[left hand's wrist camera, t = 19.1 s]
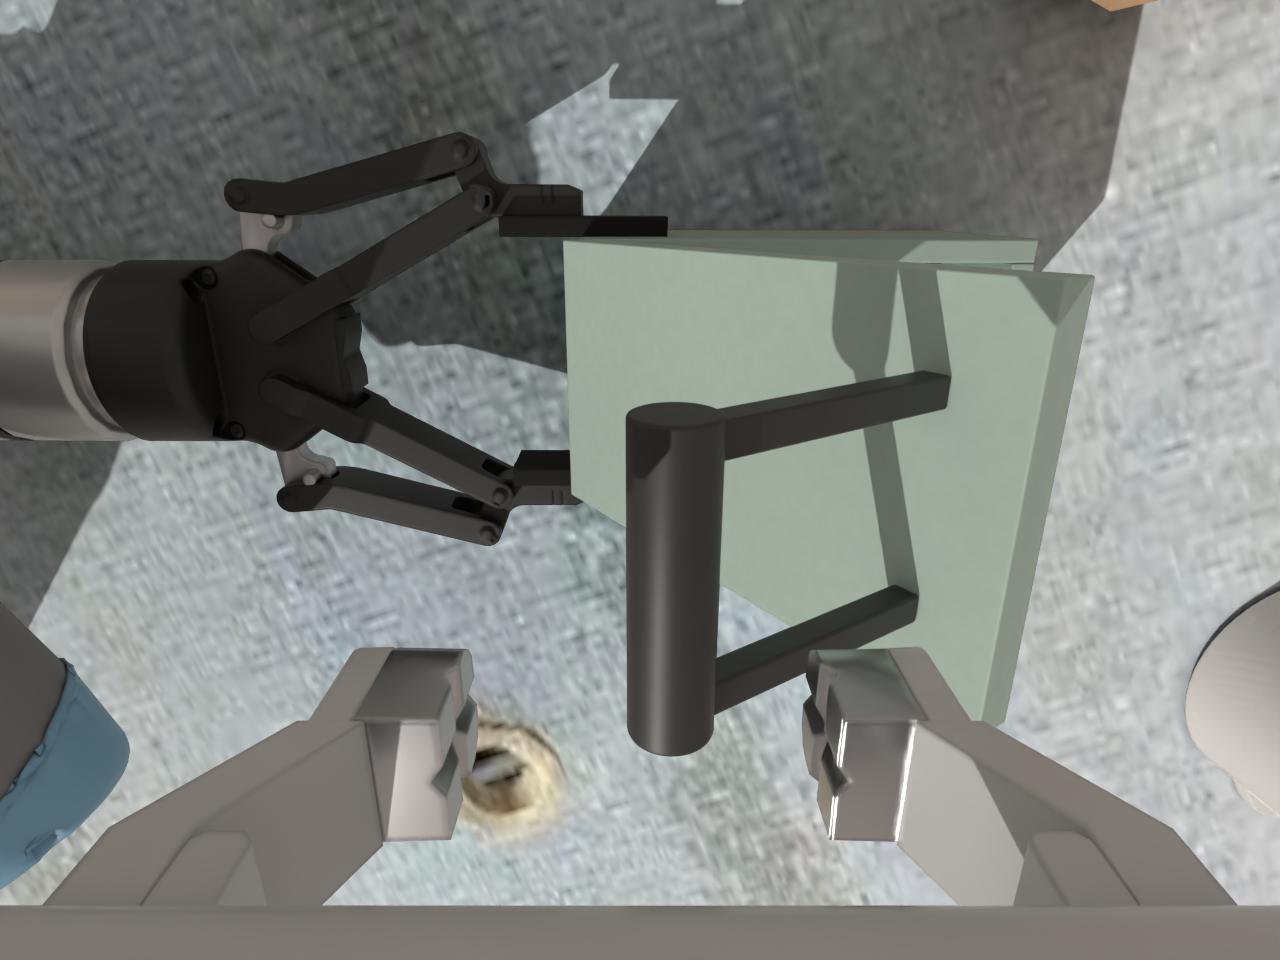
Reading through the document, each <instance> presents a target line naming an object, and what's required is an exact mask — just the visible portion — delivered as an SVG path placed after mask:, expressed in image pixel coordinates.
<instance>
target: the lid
mask: <svg viewBox="0 0 1280 960" xmlns="http://www.w3.org/2000/svg"><path fill="white" fill-rule="evenodd" d="M563 252H564V282H565V313H566V343H567V374H568V404H569V435H570V465H571V493H572V495H574V496H575V497H577V498H579V499H580V500H582V501H584V502H585V503H587V504H589V505H590V506H592V507H593V508H595V509H597V510H598V511H600V512H602V513H603V514H605V515H607V516H608V517H610V518H612V519H613V520H615V521H617V522H618V523H620V524H622V525H623V526H625V527H626V593H627V728H628V732H629V735H630V736H631V738H632V740H633V741H634V742H635V743H636V744H637V745H638V746H639V747H641V748H642V749H644V750H646V751H648V752H650V753H653V754H657V755H661V756H683V755H687V754H691V753H693V752H696V751H698V750H699V749H701V748H702V747H704V746H705V745H706V744H707V743H708V741H709V740H710V738H711V736H712V734H713V729H714V715H716V714H718V713H720V712H722V711H724V710H726V709H729V708H731V707H733V706H735V705H737V704H739V703H741V702H744V701H746V700H748V699H750V698H752V697H754V696H756V695H759V694H761V693H763V692H765V691H767V690H769V689H771V688H774V687H776V686H778V685H780V684H782V683H784V682H787V681H789V680H791V679H793V678H795V677H797V676H799V675H802V674H804V673H806V670H807V660H808V657H809V653H810V650H842V649H883V648H902V647H920V648H922V649H924V650H926V652H927V653H928V655H929V656H930V658H931V659H932V661H933V663H934V664H935V666H936V667H937V669H938V670H939V672H940V673H941V675H942V676H943V678H944V679H945V681H946V683H947V684H948V686H949V687H950V689H951V690H952V692H953V693H954V695H955V696H956V698H957V699H958V701H959V702H960V704H961V706H962V707H963V709H964V710H965V712H966V713H967V715H968V716H969V718H970V719H971V721H984V722H986V723H987V724H989V725H991V726H993V727H995V728H996V727H997V726H999V725H1001V724H1002V723H1004V722H1005V718H1006V713H1007V708H1008V703H1009V698H1010V693H1011V688H1012V683H1013V678H1014V673H1015V669H1016V664H1017V659H1018V654H1019V649H1020V644H1021V639H1022V634H1023V629H1024V624H1025V619H1026V614H1027V609H1028V605H1029V600H1030V595H1031V590H1032V585H1033V580H1034V575H1035V570H1036V565H1037V560H1038V555H1039V550H1040V545H1041V541H1042V536H1043V531H1044V526H1045V521H1046V516H1047V511H1048V506H1049V501H1050V496H1051V491H1052V486H1053V481H1054V477H1055V472H1056V467H1057V462H1058V457H1059V452H1060V447H1061V442H1062V437H1063V432H1064V427H1065V422H1066V417H1067V413H1068V408H1069V403H1070V398H1071V393H1072V388H1073V383H1074V378H1075V373H1076V368H1077V363H1078V358H1079V353H1080V349H1081V344H1082V339H1083V334H1084V329H1085V324H1086V319H1087V314H1088V309H1089V304H1090V299H1091V294H1092V289H1093V285H1094V280H1095V276H1093V275H1084V274H1070V273H1055V272H1041V271H1027V270H1013V269H999V268H985V267H971V266H957V265H943V264H929V263H914V262H900V261H886V260H872V259H858V258H844V257H830V256H816V255H802V254H787V253H773V252H759V251H745V250H731V249H717V248H703V247H689V246H675V245H661V244H646V243H632V242H618V241H604V240H590V239H584V240H564V241H563ZM720 584H721V585H722V586H724V587H726V588H727V589H729V590H731V591H732V592H734V593H735V594H737V595H739V596H740V597H742V598H744V599H745V600H747V601H749V602H750V603H752V604H754V605H755V606H757V607H759V608H760V609H762V610H764V611H765V612H767V613H769V614H770V615H772V616H773V617H775V618H777V619H778V620H780V621H782V622H783V623H785V624H787V625H788V626H790V628H788V629H785V630H783V631H780V632H778V633H775V634H773V635H771V636H768V637H766V638H763V639H761V640H759V641H756V642H754V643H751V644H749V645H746V646H744V647H742V648H739V649H737V650H734V651H732V652H730V653H727V654H725V655H722V656H720V657H718V658H716V657H717V634H718V610H719V586H720Z"/></svg>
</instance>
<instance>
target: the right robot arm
mask: <svg viewBox="0 0 1280 960" xmlns="http://www.w3.org/2000/svg"><path fill="white" fill-rule="evenodd" d="M453 176H457V178H458V181H459V183H460V185H461V188H462V190H463V192H461V193H460V194H458V195H456V196H455V197H453V198H451V199H450V200H448V201H447V202H445V203H443V204H442V205H440V206H438V207H437V208H435V209H433V210H432V211H430V212H428V213H427V214H425V215H423V216H422V217H420V218H418V219H417V220H415V221H414V222H412V223H410V224H409V225H407V226H405V227H404V228H402V229H400V230H399V231H397V232H395V233H394V234H392V235H390V236H389V237H387V238H385V239H384V240H382V241H380V242H379V243H377V244H376V245H374V246H372V247H371V248H369V249H367V250H366V251H364V252H362V253H361V254H359V255H357V256H356V257H354V258H352V259H351V260H349V261H347V262H346V263H344V264H342V265H341V266H339V267H337V268H334V269H332V270H330V271H328V272H326V273H325V274H323V275H321V276H320V277H318V278H317V277H316V276H314V275H313V274H311V273H310V272H308V271H307V270H305V269H304V268H302V267H301V266H299V265H298V264H296V263H295V262H293V261H292V260H290V259H289V258H287V257H286V256H285V255H283V254H282V253H280V252H278V251H277V245H278V242H279V240H280V239H281V238H282V237H284V236H286V235H291V234H295V233H296V232H298V231H299V229H300V227H301V224H302V217H301V215H312V214H322V213H327V212H331V211H335V210H338V209H342V208H345V207H349V206H352V205H355V204H359V203H362V202H366V201H369V200H373V199H376V198H380V197H383V196H387V195H390V194H394V193H397V192H401V191H404V190H407V189H411V188H414V187H418V186H421V185H425V184H428V183H432V182H435V181H439V180H442V179H446V178H449V177H453ZM224 196H225V199H226V201H227V203H228V204H229V206H230V207H232V208H233V209H234V210H236V211H239V216H240V228H241V239H242V250H241V251H239V252H237V253H235V254H234V255H232V256H231V257H229V258H227V259H225V260H128V261H124V262H121V263H119V264H118V263H116V262H113V261H110V260H5V261H0V440H29V441H31V440H61V441H131V440H134V439H137V438H140V439H143V440H148V441H239V440H245V441H251V442H255V443H258V444H260V445H263V446H265V447H267V448H269V449H271V450H274V451H276V452H277V456H278V460H279V463H280V467H281V471H282V475H283V479H284V483H285V486H284V487H283V488H282V489H280V490H279V491H278V493H277V502H278V504H279V506H280V507H281V508H282V509H284V510H286V511H288V512H301V511H313V510H326V509H333V510H337V511H341V512H346V513H350V514H354V515H358V516H362V517H367V518H371V519H375V520H379V521H384V522H388V523H392V524H396V525H400V526H405V527H409V528H413V529H417V530H421V531H426V532H430V533H434V534H438V535H442V536H447V537H451V538H455V539H459V540H463V541H468V542H472V543H476V544H480V545H484V546H491V545H494V544H496V543H497V542H498V541H499V539H500V537H501V534H502V532H503V530H504V527H505V524H506V522H507V519H508V516H509V513H510V511H511V510H512V509H513V508H515V507H517V506H520V505H577V504H580V503H583V502H584V501H582V500H580V499H579V498H577V497H575V496H574V495H572V493H571V465H570V450H521V452H520V455H519V457H518V459H517V461H516V462H515V464H514V467H513V466H511V465H509V464H507V463H505V462H503V461H501V460H499V459H497V458H495V457H493V456H491V455H489V454H487V453H485V452H483V451H481V450H479V449H477V448H475V447H473V446H471V445H469V444H467V443H465V442H463V441H461V440H459V439H457V438H455V437H453V436H451V435H449V434H447V433H445V432H443V431H441V430H439V429H437V428H435V427H433V426H431V425H429V424H427V423H425V422H423V421H421V420H419V419H417V418H415V417H413V416H411V415H409V414H407V413H405V412H403V411H401V410H399V409H397V408H395V407H393V406H392V405H391V404H390V403H389V402H388V400H387V399H385V398H384V397H382V396H380V395H378V394H376V393H374V392H372V391H370V390H368V389H366V388H364V386H365V385H367V384H368V376H367V368H366V364H365V362H364V359H363V357H362V354H361V352H360V340H361V333H362V327H361V319H360V313H355V311H354V309H353V307H352V305H351V303H353V302H355V301H356V300H358V299H360V298H361V297H363V296H365V295H367V294H368V293H370V292H372V291H373V290H375V289H376V288H377V287H378V286H380V285H382V284H383V283H385V282H387V281H388V280H390V279H392V278H393V277H395V276H397V275H399V274H400V273H402V272H404V271H405V270H407V269H409V268H410V267H412V266H414V265H415V264H417V263H419V262H420V261H422V260H424V259H425V258H427V257H429V256H430V255H432V254H434V253H436V252H437V251H439V250H441V249H442V248H444V247H446V246H447V245H449V244H451V243H452V242H454V241H456V240H457V239H459V238H461V237H462V236H464V235H466V234H467V233H469V232H471V231H472V230H474V229H476V228H478V227H479V226H481V225H483V224H484V223H486V222H488V221H489V220H491V219H493V218H494V217H499V231H500V237H667V234H668V217H666V216H583V191H582V190H580V189H577V188H575V187H573V186H570V185H541V184H505V183H503V182H502V181H500V180H499V179H498V178H497V176H496V175H495V173H494V171H493V169H492V166H491V164H490V161H489V159H488V156H487V149H486V147H485V145H484V144H483V143H482V142H481V141H480V140H479V139H476V138H474V137H472V136H470V135H467V134H464V133H462V132H458V133H452V134H449V135H445V136H442V137H438V138H435V139H432V140H428V141H425V142H421V143H418V144H415V145H411V146H408V147H404V148H401V149H398V150H394V151H391V152H387V153H384V154H381V155H377V156H374V157H370V158H367V159H363V160H360V161H357V162H353V163H350V164H346V165H343V166H340V167H336V168H333V169H329V170H326V171H323V172H319V173H316V174H312V175H309V176H305V177H302V178H299V179H295V180H292V181H288V182H278V181H267V180H252V179H232V180H231V181H229V182H228V183H227V184H226V186H225V189H224ZM322 429H324V430H326V431H328V432H330V433H332V434H334V435H336V436H338V437H340V438H342V439H344V440H346V441H349V442H352V443H362V444H365V445H368V446H370V447H372V448H374V449H376V450H378V451H380V452H382V453H384V454H386V455H388V456H390V457H392V458H394V459H396V460H398V461H400V462H402V463H404V464H406V465H408V466H410V467H412V468H415V469H417V470H419V471H421V472H423V473H425V474H427V475H429V476H431V477H433V478H435V479H437V480H439V481H441V482H443V483H445V484H447V485H449V486H451V487H453V488H455V489H457V490H459V491H462V492H464V493H461V492H457V491H453V490H449V489H444V488H440V487H436V486H432V485H428V484H424V483H420V482H416V481H412V480H408V479H404V478H399V477H395V476H391V475H387V474H383V473H379V472H375V471H371V470H367V469H362V468H357V467H348V466H336V465H335V460H334V459H333V458H331V457H327V456H322V455H317V454H315V453H313V452H312V451H311V450H310V449H309V447H308V445H307V443H306V441H308V440H309V439H311V438H312V437H313V436H314V435H316V434H317V433H318V432H320V431H321V430H322ZM465 493H466V494H465ZM129 753H130V748H129V742H128V739H127V737H126V735H125V733H124V731H123V730H122V729H121V728H120V726H119V725H118V724H117V723H116V722H115V720H114V719H113V718H112V717H111V715H110V714H109V713H108V712H107V711H106V709H105V708H104V707H103V706H102V704H101V703H100V702H99V701H98V699H97V698H96V697H95V696H94V695H93V693H92V692H91V691H90V690H89V688H88V687H87V686H86V685H85V684H84V682H83V681H82V680H81V679H80V677H79V676H78V675H77V673H76V671H75V669H74V666H73V665H72V664H70V663H69V662H67V661H66V659H65V658H58V657H57V656H55V655H54V654H53V653H52V652H51V651H50V650H49V649H48V648H47V647H46V646H45V645H44V644H43V643H42V642H41V641H40V640H39V639H38V638H37V637H36V636H35V635H34V634H33V633H32V632H31V631H30V630H29V629H28V628H27V627H26V626H25V625H24V624H23V623H22V622H21V621H20V620H19V619H17V618H16V617H15V616H14V615H13V614H12V613H11V612H10V611H9V610H8V609H7V608H6V607H5V606H4V605H3V604H2V603H1V602H0V890H1V889H2V888H4V887H5V886H7V885H8V884H10V883H11V882H12V881H14V880H15V879H16V878H18V877H19V876H20V875H22V874H23V873H24V872H26V871H27V870H28V869H30V868H31V867H32V866H33V865H35V864H36V863H37V862H39V861H40V859H41V858H42V857H43V856H44V855H45V854H46V853H47V852H48V851H49V850H50V849H51V848H52V847H53V846H55V845H56V844H57V843H59V842H60V841H61V840H63V839H64V838H66V837H68V836H69V835H70V834H71V833H73V832H74V831H75V830H76V829H77V828H78V827H79V826H80V825H81V824H82V823H83V822H84V821H85V820H86V819H87V818H88V817H89V816H90V815H91V814H92V813H93V812H94V811H95V810H96V809H97V808H98V807H99V806H100V804H101V803H102V802H103V801H104V800H105V799H106V798H107V796H108V795H109V794H110V793H111V791H112V790H113V788H114V787H115V785H116V784H117V782H118V781H119V780H120V778H121V776H122V775H123V773H124V771H125V768H126V766H127V763H128V759H129Z"/></svg>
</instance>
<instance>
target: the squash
mask: <svg viewBox="0 0 1280 960" xmlns="http://www.w3.org/2000/svg"><path fill="white" fill-rule="evenodd" d="M1091 1H1093V2H1095V3H1096V4H1098V5H1100V6H1102V7H1104V8H1106V9H1107V10H1109V11H1115V10H1120V9H1124V8H1128V7H1132V6H1136V5H1141V4H1145V3H1149V2H1153V1H1157V0H1091Z"/></svg>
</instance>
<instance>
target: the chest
mask: <svg viewBox="0 0 1280 960" xmlns="http://www.w3.org/2000/svg"><path fill="white" fill-rule="evenodd" d="M584 239H590V240H604V241H618V242H632V243H646V244H661V245H675V246H689V247H703V248H717V249H731V250H745V251H759V252H773V253H787V254H802V255H816V256H830V257H844V258H858V259H872V260H886V261H900V262H914V263H929V264H943V265H957V266H971V267H985V268H999V269H1013V270H1027V271H1034V266H1035V265H1034V264H1033V262H1035V259H1036V253H1037V247H1038V240H1037V239H1030V238H1018V237H1006V236H994V235H983V234H971V233H959V232H947V231H940V230H668V234H667V237H581V238H580V239H578V240H584Z"/></svg>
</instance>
